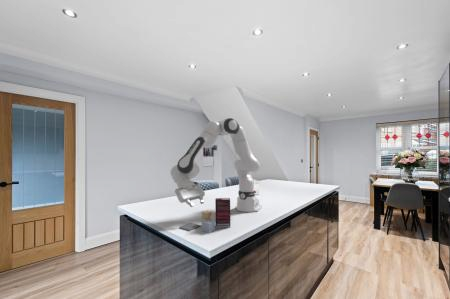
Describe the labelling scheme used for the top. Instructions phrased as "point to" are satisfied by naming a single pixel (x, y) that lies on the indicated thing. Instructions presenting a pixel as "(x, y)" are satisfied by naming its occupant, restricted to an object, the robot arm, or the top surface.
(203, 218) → the oak block
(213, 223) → the blue-grey cube
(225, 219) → the supplement box
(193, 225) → the charcoal mat
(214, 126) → the robot arm
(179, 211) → the top surface
